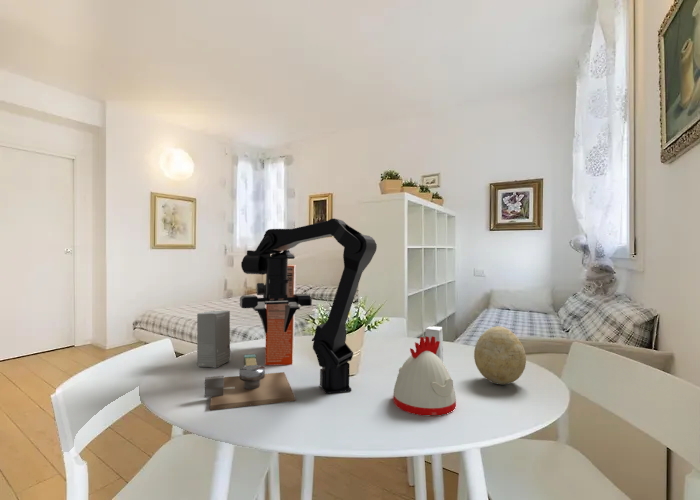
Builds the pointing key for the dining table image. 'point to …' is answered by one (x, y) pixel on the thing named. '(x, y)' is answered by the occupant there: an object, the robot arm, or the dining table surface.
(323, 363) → the robot arm
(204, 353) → the skincare box
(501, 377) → the fossilized egg
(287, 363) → the orange upright rectangular box
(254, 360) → the metal scoop
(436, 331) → the skincare box
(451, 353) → the dining table surface
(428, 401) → the kitchen timer
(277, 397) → the base
